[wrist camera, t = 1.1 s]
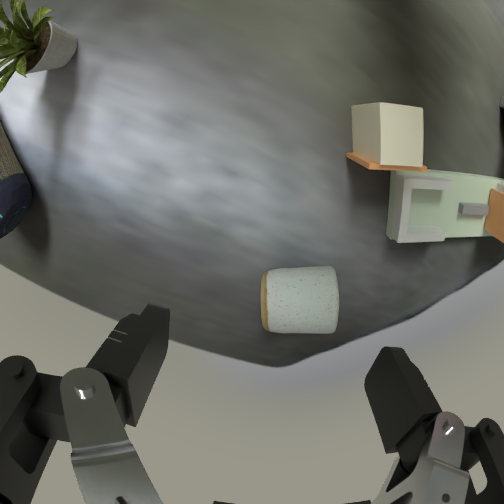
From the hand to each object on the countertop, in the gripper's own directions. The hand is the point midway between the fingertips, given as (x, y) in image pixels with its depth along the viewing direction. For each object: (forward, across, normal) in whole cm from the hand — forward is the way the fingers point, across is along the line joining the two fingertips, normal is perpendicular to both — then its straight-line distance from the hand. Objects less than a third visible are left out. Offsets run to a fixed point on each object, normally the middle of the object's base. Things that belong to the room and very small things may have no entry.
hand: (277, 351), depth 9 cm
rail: (+21, -24, -8) cm, 33 cm away
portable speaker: (+22, +42, -4) cm, 47 cm away
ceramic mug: (+24, -6, +9) cm, 26 cm away
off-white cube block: (+21, -8, -12) cm, 25 cm away
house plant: (+20, +29, -19) cm, 40 cm away
